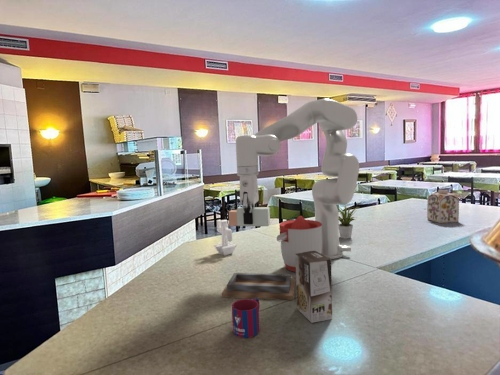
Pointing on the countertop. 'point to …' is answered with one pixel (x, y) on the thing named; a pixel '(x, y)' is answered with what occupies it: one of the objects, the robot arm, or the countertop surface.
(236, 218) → the white bar
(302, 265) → the coffee box
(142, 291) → the countertop surface
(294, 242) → the citrus juicer
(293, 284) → the jig
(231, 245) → the figurine
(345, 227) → the house plant
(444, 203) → the decorative jar
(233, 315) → the mug
